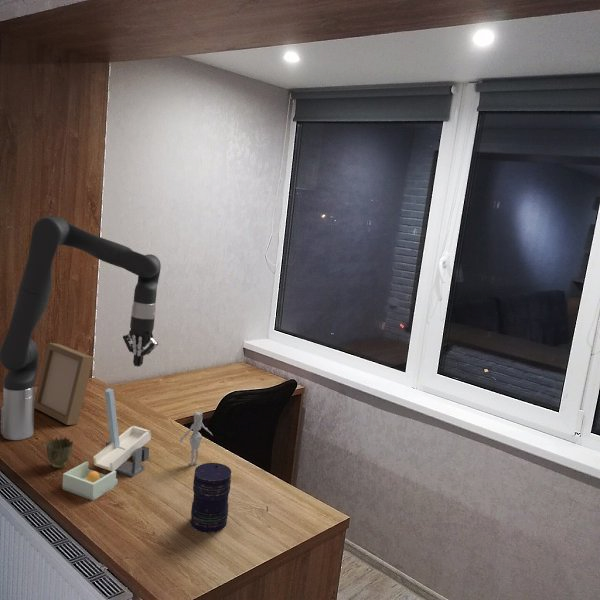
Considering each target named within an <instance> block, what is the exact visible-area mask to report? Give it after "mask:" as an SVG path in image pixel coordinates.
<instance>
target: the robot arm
mask: <svg viewBox="0 0 600 600" xmlns="http://www.w3.org/2000/svg"><path fill="white" fill-rule="evenodd" d="M59 245H61V246H67V247H71V248H75V249H78V250H81V251H82V252H85V253H87V254H89V255H90V256H92V257H94V258H95V259H98V260H100V261H101V262H105V263H107V264H110V265H113V266H115V267H118V268H122V269H124V270H125V271H128V272H130V273H132V274H134V275H136V276H137V283H136V285H135V287H134V293H133V294H134V295H133V301H132V302H133V303H132V306H131V313H130V322H129V323H130V324H129V327H130V330H129V331H128V333H127V334H125V335H123V336H122V338H123V342H124V343H125V345H126V347H127V349H128V351H129V353H132V355H133V361H132V363H133V366H134V367H137V368H138V367H141V366H143V364H144V356H147V355H149V354H151V353H152V352H153V350H154V349H156V347H157V346H159V342H158V341H155V339H154V335H153V331H154V329H155V319H156V310H157V309H156V303H157V294H158V293H157V292H158V291H157V290H158V284H159V280H160V276H161V268H162V265H161V261H160V259H159V258H158V257H157V256H156V255H154V254H150V253H149V254H142V253H140V252H137V251H134V250H133V249H132V248H130V247H128V246H126V245H123V244H121V243H119V242H115V241H112V240H110V239H106V238H103V237H101V236H97V235H95V234H93V233H90V232H88V231H85V230H83V229H82V228H80V227H77V226H75V225H74V224H72V223H70V222H69V221H67V220H65V219H63V218H61V217H59V216H46V217H42V218H39V219H38V220H37V221H36V222H34V225H33V227H32V231H31V236H30V245H29V251H28V256H27V261H26V264H25V266H24V269H23V272H22V277H21V280H20V283H19V287H18V291H17V295H16V300H15V303H14V308H13V311H12V315H11V319H10V322H9V325H8V326H9V327H8V329H7V332H6V334H5V335H6V336H5V338H4V339H3V342H2V345H1V347H0V363H1V365H2V366H3V367H4V368H5V369H7V370H8V371H7V374H6V375H5V377H4V378H3V398H2V399H3V402H2V403H3V406H2V407H1V408H0V435H2V437H3V438H4V439H6V440H10V441H20V440H25V439H28V438H30V437H32V436H33V435H34V425H35V422H34V420H35V408H34V400H35V385H36V384H35V382H36V379H37V376H38V375H37V374H38V368H39V365H38V364H39V349H38V346H37V343H36V342H35V341H34V340H33V339H31V338H32V336H33V333H34V330H35V328H36V326H37V324H38V323H39V322H40V320H41V318H42V316H43V314H44V312H45V311H46V308H47V306H48V302H49V299H50V296H51V292H52V286H53V272H52V270H53V269H52V268H53V262H54V259H55V255H56V252H57V249H58V247H59Z"/></svg>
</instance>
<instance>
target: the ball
mask: <svg viewBox="0 0 600 600" xmlns="http://www.w3.org/2000/svg"><path fill="white" fill-rule="evenodd" d="M99 473H100V472H99ZM99 473H98V471H96V470H93V471H92V472H90V473H88V475H87V478H86V479H87V481H90V482H93V483H94V482H95V481H97V480H99V479H100V475H99Z"/></svg>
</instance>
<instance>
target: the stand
mask: <svg viewBox="0 0 600 600" xmlns="http://www.w3.org/2000/svg"><path fill="white" fill-rule="evenodd" d="M110 443H111V440H110V439H109V440H107V441H106V442H105V447H106V446H108V445H109V444H110ZM149 457H150V447H147V446H145V445H143V446H142V447H141V448H140V447H139V448H138V449H136V450H134V451H133V455H132V456H131V457H130V458H132V462H130V461H128V460H126V461H125V462H124V463H123V464H121V465H120V466H119V467H118V468H117V469H116V470H115V471H116V473H118V474H121V475H124V476H127V477H130V478H134V477H135V476H137V475H138V474H140V473H141V472H143V471H144V470H146V469H145V468H146V467H145V466H142V462H145V461H147V460H149Z"/></svg>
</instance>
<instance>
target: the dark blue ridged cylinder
mask: <svg viewBox="0 0 600 600" xmlns="http://www.w3.org/2000/svg"><path fill="white" fill-rule="evenodd" d="M231 479H232V470H231V468H230V467H229V466H227V465H225V464H222V463H218V462H206V463H202V464H198V466H197V467H195V469H194V476H193V487H192V492H193V498H192V499H193V500H192V504H191V510H190V517H191V518H190V525H192V526H191V527H192V528H193V530H195V529H196V530H195V531H197V532H199V531H200V533H202V532H206V533H205V534H213V533H212V532H215V533H218V532H217V531H219V532H221V531H223V530H224V529H225V528H226V527H227V525H226V524H228V516H229V515H228V514H229V494H230V491H231V486H232V485H231V484H232V483H231V481H232V480H231ZM225 526H226V527H225ZM224 527H225V528H224ZM223 528H224V529H223ZM222 529H223V530H222ZM220 530H221V531H220Z"/></svg>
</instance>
